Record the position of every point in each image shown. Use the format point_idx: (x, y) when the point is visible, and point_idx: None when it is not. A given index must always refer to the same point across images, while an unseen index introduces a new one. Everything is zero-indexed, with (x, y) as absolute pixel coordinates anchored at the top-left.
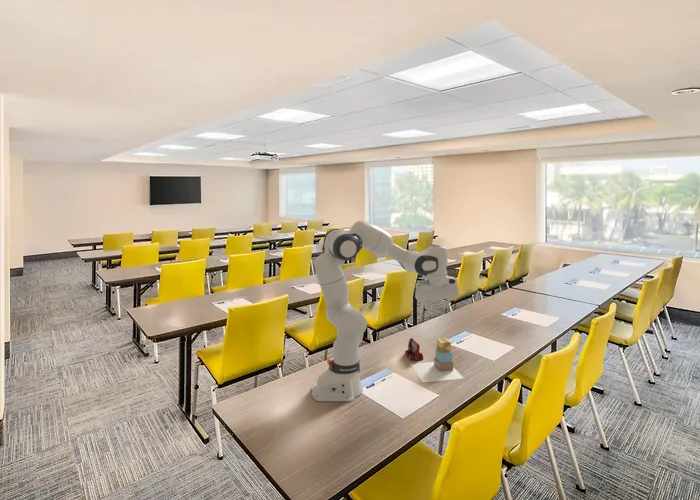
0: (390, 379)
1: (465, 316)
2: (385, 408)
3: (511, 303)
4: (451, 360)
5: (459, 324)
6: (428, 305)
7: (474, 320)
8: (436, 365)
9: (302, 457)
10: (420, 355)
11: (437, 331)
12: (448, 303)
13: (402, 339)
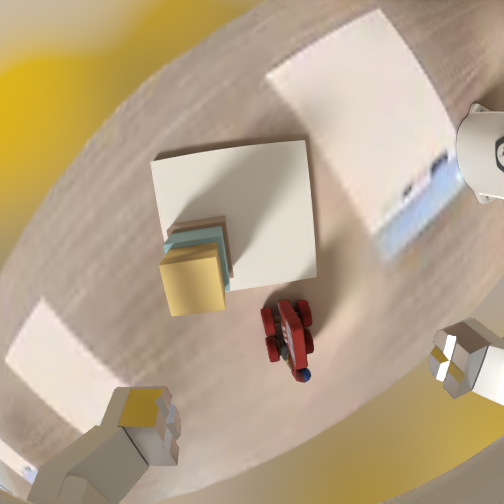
0: (390, 189)
1: None
2: (413, 51)
3: None
4: (172, 234)
5: None
6: (466, 368)
7: None
8: (229, 246)
9: (494, 3)
10: (272, 317)
11: None
12: (93, 439)
13: (283, 431)
